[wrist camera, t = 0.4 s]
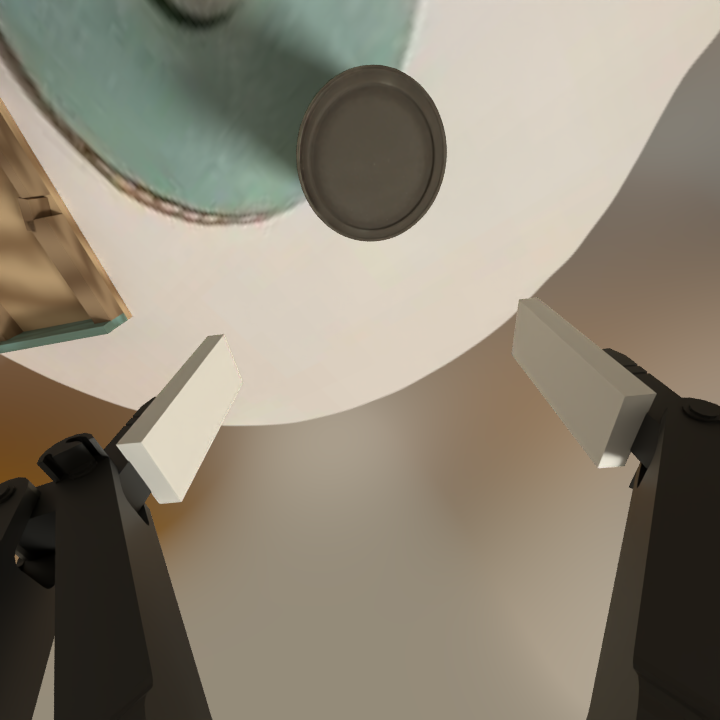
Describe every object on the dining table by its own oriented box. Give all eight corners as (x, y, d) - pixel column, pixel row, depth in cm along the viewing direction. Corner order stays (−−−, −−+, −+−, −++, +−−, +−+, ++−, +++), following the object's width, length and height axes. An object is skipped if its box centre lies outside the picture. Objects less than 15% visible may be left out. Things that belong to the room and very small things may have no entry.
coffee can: (389, 74, 31) (407, 20, 19) (432, 183, 35) (468, 195, 23) (299, 139, 33) (264, 128, 21) (350, 232, 38) (345, 266, 26)
